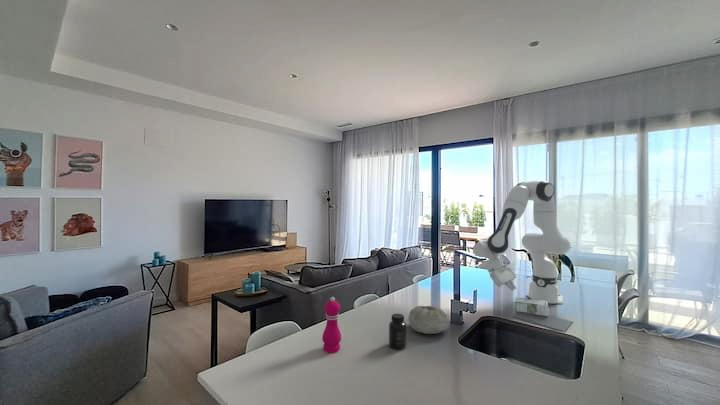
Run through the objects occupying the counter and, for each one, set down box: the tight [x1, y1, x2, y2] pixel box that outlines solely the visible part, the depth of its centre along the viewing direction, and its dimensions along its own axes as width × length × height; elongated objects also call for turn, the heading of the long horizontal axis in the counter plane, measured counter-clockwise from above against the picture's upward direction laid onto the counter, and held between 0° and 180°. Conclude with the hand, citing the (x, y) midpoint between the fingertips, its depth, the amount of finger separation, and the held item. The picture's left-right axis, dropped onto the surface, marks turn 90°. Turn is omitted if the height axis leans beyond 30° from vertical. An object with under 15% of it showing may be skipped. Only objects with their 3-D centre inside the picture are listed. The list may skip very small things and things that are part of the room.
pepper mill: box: [321, 296, 342, 354], centre depth 112 cm, size 7×7×20 cm
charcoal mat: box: [511, 312, 574, 333], centre depth 144 cm, size 16×22×1 cm
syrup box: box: [514, 297, 549, 316], centre depth 151 cm, size 6×6×14 cm
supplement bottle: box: [388, 312, 407, 351], centre depth 115 cm, size 7×7×12 cm
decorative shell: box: [408, 305, 451, 335], centre depth 130 cm, size 18×18×10 cm
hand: (514, 289), depth 153 cm, fingers closed
